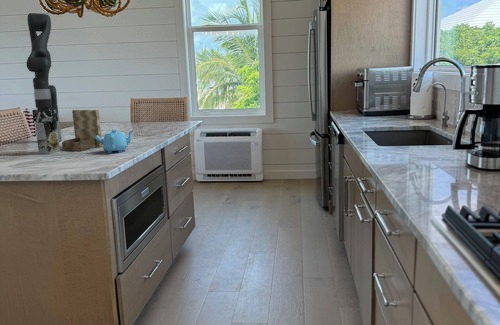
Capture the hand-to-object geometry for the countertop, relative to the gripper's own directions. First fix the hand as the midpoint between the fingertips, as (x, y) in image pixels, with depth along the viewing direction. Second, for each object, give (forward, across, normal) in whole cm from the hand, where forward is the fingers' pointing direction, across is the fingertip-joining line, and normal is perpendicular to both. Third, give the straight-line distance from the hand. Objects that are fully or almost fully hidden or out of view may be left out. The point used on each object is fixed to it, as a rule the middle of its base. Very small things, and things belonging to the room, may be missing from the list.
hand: (46, 130), depth 223 cm
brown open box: (+12, -9, -12) cm, 19 cm away
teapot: (+12, -34, -10) cm, 37 cm away
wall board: (+12, -9, -19) cm, 24 cm away
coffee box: (+12, 0, 0) cm, 12 cm away
